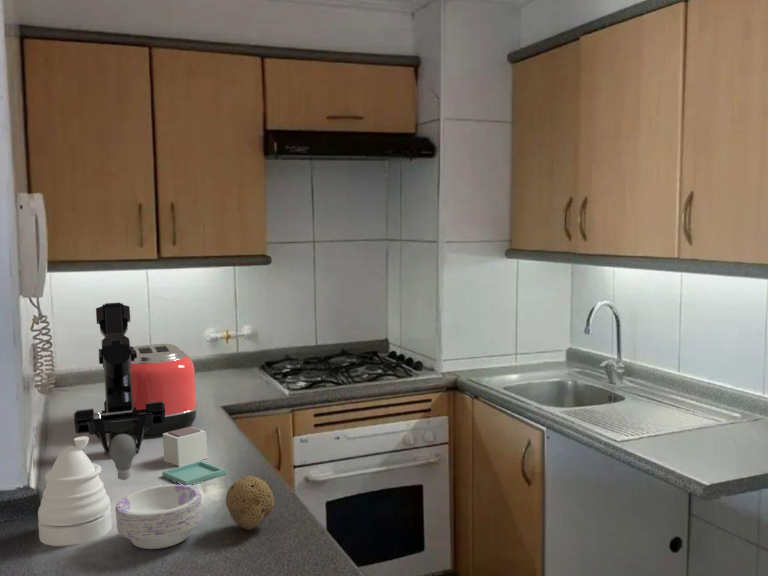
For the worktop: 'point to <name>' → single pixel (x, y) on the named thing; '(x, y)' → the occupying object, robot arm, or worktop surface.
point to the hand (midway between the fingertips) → (122, 451)
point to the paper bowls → (159, 515)
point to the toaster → (164, 385)
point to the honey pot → (74, 500)
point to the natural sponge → (249, 501)
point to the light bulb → (122, 454)
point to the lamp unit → (185, 446)
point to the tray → (194, 473)
